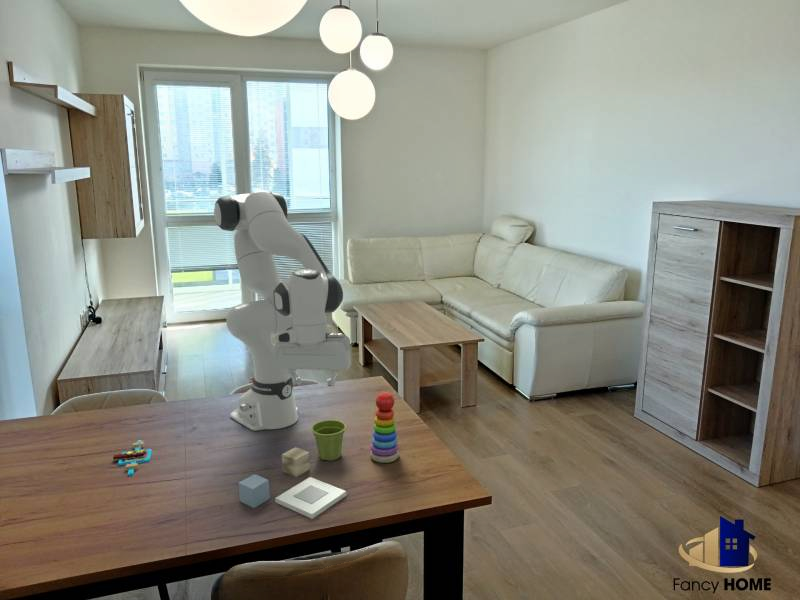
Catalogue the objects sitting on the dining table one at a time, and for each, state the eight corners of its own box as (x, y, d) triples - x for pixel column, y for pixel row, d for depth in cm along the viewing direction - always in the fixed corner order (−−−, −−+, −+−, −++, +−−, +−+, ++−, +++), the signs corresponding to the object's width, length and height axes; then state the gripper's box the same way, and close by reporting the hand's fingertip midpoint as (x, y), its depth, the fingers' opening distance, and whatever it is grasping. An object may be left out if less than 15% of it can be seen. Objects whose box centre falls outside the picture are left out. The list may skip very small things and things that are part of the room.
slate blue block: (239, 501, 146) (238, 482, 145) (255, 492, 150) (254, 474, 149) (254, 508, 143) (252, 489, 142) (269, 498, 147) (268, 480, 146)
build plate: (275, 502, 145) (275, 497, 145) (310, 481, 155) (310, 476, 154) (312, 518, 138) (312, 513, 138) (346, 495, 148) (346, 490, 148)
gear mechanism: (107, 480, 157) (146, 475, 159) (105, 461, 155) (144, 456, 158) (120, 446, 175) (154, 442, 178) (118, 428, 174) (152, 425, 177)
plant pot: (319, 467, 162) (318, 437, 160) (308, 452, 170) (306, 424, 168) (352, 459, 166) (351, 430, 164) (339, 445, 174) (338, 417, 172)
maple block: (282, 471, 160) (281, 454, 158) (296, 464, 164) (295, 447, 162) (296, 477, 157) (295, 459, 156) (309, 469, 161) (309, 452, 160)
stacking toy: (395, 465, 162) (395, 400, 158) (367, 462, 164) (365, 397, 160) (401, 452, 170) (401, 389, 166) (374, 449, 171) (372, 387, 167)
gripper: (353, 330, 155) (356, 382, 158) (279, 330, 160) (283, 380, 162) (345, 336, 149) (348, 390, 152) (268, 335, 154) (273, 387, 156)
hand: (314, 385), depth 157 cm, fingers open, 8 cm apart
